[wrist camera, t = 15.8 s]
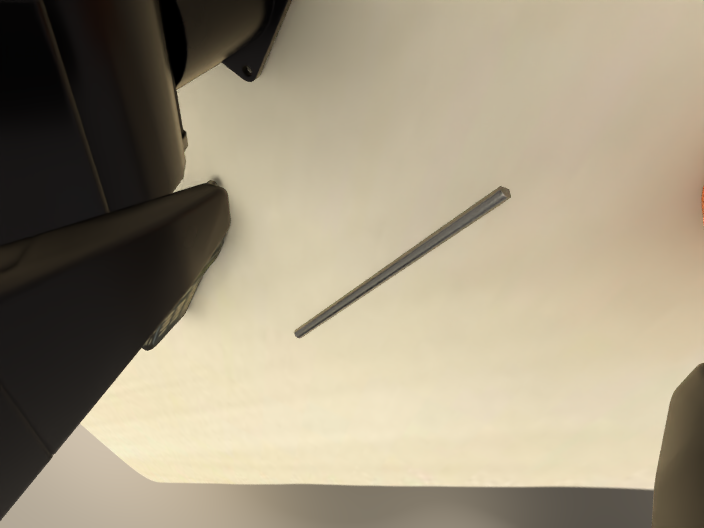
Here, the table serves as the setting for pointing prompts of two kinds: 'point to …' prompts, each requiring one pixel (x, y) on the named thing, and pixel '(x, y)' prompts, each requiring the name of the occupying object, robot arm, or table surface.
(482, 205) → the rod
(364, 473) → the table surface
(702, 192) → the measuring cup
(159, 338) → the mobile phone
